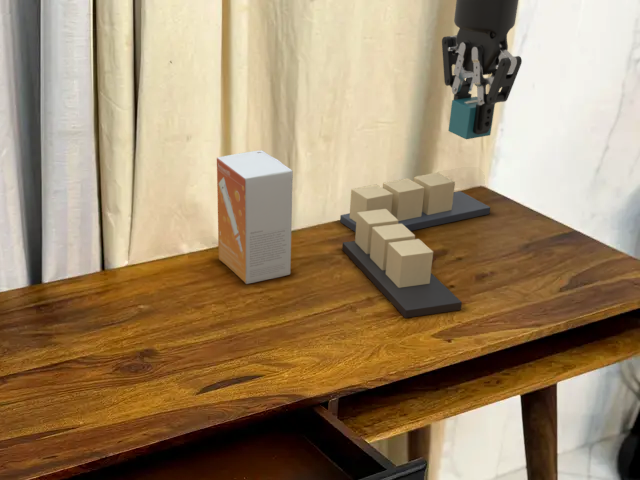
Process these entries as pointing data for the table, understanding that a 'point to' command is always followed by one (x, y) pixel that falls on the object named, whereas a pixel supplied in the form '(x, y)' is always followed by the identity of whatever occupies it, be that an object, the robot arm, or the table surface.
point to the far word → (415, 202)
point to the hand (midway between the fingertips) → (470, 127)
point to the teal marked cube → (464, 118)
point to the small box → (254, 215)
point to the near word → (398, 265)
